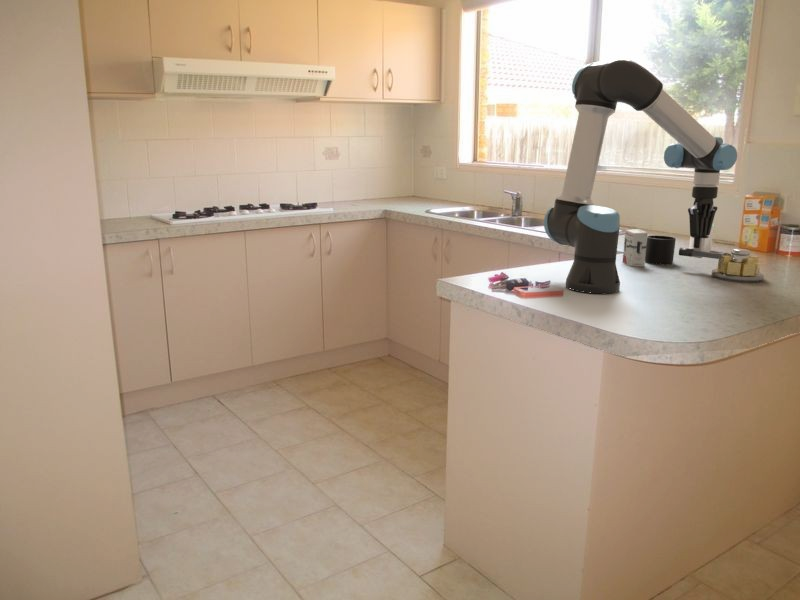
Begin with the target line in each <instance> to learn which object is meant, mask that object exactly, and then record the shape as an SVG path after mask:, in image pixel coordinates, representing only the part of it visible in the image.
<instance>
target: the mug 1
mask: <svg viewBox="0 0 800 600" xmlns="http://www.w3.org/2000/svg"><path fill="white" fill-rule="evenodd" d="M676 239H677V238H676V237H674V236H670V235H669V236H668V235H649V236H648V235H647V244H646V255H645V263H648V264H650V265H651V264H652V265H659V266H667V265H672V264H673V263H674V255H675V248H676Z"/></svg>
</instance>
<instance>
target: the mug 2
mask: <svg viewBox="0 0 800 600" xmlns="http://www.w3.org/2000/svg"><path fill="white" fill-rule="evenodd" d="M714 229H715V224H713V223H712V227H711V231H710V235H707V236H709V237H708V238H705V240H704V248H703V251H704V252H712V245H713V240H714V239H713V238H714V232H715V231H714ZM693 248H694V238H693V237H691V236H690V237H689V247H688V249H693Z"/></svg>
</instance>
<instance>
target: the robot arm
mask: <svg viewBox="0 0 800 600" xmlns="http://www.w3.org/2000/svg"><path fill="white" fill-rule="evenodd" d="M571 83H572V84H571V85H572V86H571V91H572V94H573V97H574V100H575V106H574V107H575V109H576V111H577V112H578V115H577V121H576V125H575V130H574V136H573V139H572V144H571V149H570V154H569V159H568V163H567V168H566V173H565V177H564V183H563V187H562V193H561V194H559V195H558V196H556V197H555V200H554V206H552V207H550V208H549V209H548V210H547V212H546V213H545V215H544V219H543V228H544V231H545V234H546V235H547V236H548V238H549V239H550V240H552V241H553V242H555V243H557V244H559V245H562V246H564V245H565V246H568V247H571V248H574V255H573V256H574V257H573V262H572V265H571V266H570V267H571V268H570V269H569V272H568V274H567V277H566V280H565V287H566V286H567V287H568V288H571V289H574V290H578V291H584V292H591V293H590V294H594V293H609V294H616V293H618V292H619V291H620V289H621V288H620V287H621V281H620V276H619V273H618V268H617V253H618V244H619V236H620V227H621V224H620V222H621V220H620V219H621V216H620V213H619V212H618V211H617V210H615V209H613V208H611V207H610V208H609V207H607V206H601V205H595V203H594V202H593V200H592V192H593V189H594V184H595V180H596V176H597V171H598V166H599V161H600V157H601V152H602V148H603V143H604V138H605V133H606V129H607V125H608V121H609V117H610V116H611V117H612V115H614V114H615V113H616V109H617V105H618V103H622V104H626V105H627V106H631V107H632V108H633V110H635V111H636V112H642V113H644V114H646V116H648V117H649V118H650V119H651V120H653V121H652V122H655V123H656V124H657V125H658V126H659V127H660V128H662V130H664V131H665V132H666V133H667V134H668V135H669V136H670V137H671V138H673V139H674V140H675V141H676V142H677V143H671V144H669V145H668V146H667V147H666V148H665V150H664V153H663V162H664V163H665V165H666V166H667V167H668V168H673V169H674V168H675V169H679V168H681V169H682V168H683V169H694V173H693V174H694V175H693V187H692V191H691V197H692V198H694V201H693V206H692V207H688V209H687V212H688V216H689V217H688V218H689V236H690V237H693V238H694V248H693V249H694V250H696V251H703V248H704V240H705V238H708V237H709V236H707V235H710V231H711V227H712V224H713V222H714V219H715V215H716V212H717V210H718V206H715V205H714V199H716V198H718V192H719V187H718V186H719V183H720V174H721V171H728V170H730V169H732V168H733V167H734V165H735V164H736V162H737V160H738V152H737V149H736V147H735V146H734V145H732V144H729V143H724V139H723V137H720V136H713V135H712V134H711V133H710V132H709V131H708V130H707V129H706V128H705V127H704V126H702V124H701V123H699V122H698V121H697V120H696V119H695V118H694V117H693V116H692V115H691V114H690V113H689V112H688V111H687V110H685V108H683V106H682V105H680V104H679V103H678V102H677V101H676V100H675V99H674V98H673V97H672V96H671V95H669V93H667V92H666V91H665V89H664V83H663V82H662V81H661V80H659V78H657V77H656V75H654V74H653V73H652V72H650V71H649V70H648V69H646V68H645V67H644V66H642V65H640V64H639V63H637V62H636V61H634V60H631V59H627V58H616V59H611V60H603V61H593V62H591V63H589V64H586V65H584V66H582V67H581V68H580V69H579V70H578V71H577V72H576V73H575V75H574V76H573V80H572V82H571ZM692 258H696V259H697V258H698V259H703V257H698V256H692ZM567 287H566V288H567ZM568 288H567V289H568ZM571 289H570V290H571ZM574 290H573V291H574ZM578 291H577V292H578ZM584 292H583V293H584ZM615 292H616V293H615Z"/></svg>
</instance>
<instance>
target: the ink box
mask: <svg viewBox="0 0 800 600" xmlns="http://www.w3.org/2000/svg"><path fill="white" fill-rule="evenodd" d="M647 237H648V232H647V231H645V230H642V229H639V228H638V229H636V228H635V229H625V230H624V241H623V242H624V243H623V252H622V253H623V255H622V263H624V264H626V265H627V266H629V267H645V265H646V262H645V255H646V244H647Z"/></svg>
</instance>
